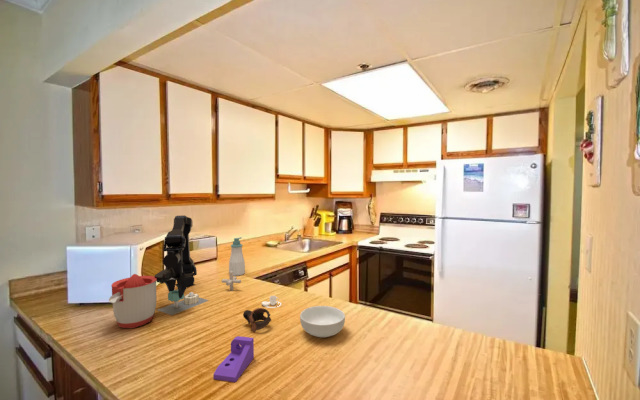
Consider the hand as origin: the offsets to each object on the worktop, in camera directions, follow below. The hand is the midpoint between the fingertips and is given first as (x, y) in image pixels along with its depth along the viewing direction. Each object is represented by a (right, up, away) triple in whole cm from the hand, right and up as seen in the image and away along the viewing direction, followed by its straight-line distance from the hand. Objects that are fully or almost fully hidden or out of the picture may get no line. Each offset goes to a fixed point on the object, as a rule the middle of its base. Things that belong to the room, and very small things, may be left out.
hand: (176, 296), depth 131 cm
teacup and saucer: (+40, -7, +9) cm, 42 cm away
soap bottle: (+11, -4, +56) cm, 57 cm away
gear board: (+2, -6, +3) cm, 7 cm away
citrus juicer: (-11, -7, -12) cm, 18 cm away
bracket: (+38, -8, -42) cm, 57 cm away
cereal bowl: (+65, -7, -20) cm, 69 cm away
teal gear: (0, -1, 0) cm, 1 cm away
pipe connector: (+17, -5, +26) cm, 31 cm away
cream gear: (+4, -5, +7) cm, 9 cm away
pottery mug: (+39, -7, -15) cm, 43 cm away
